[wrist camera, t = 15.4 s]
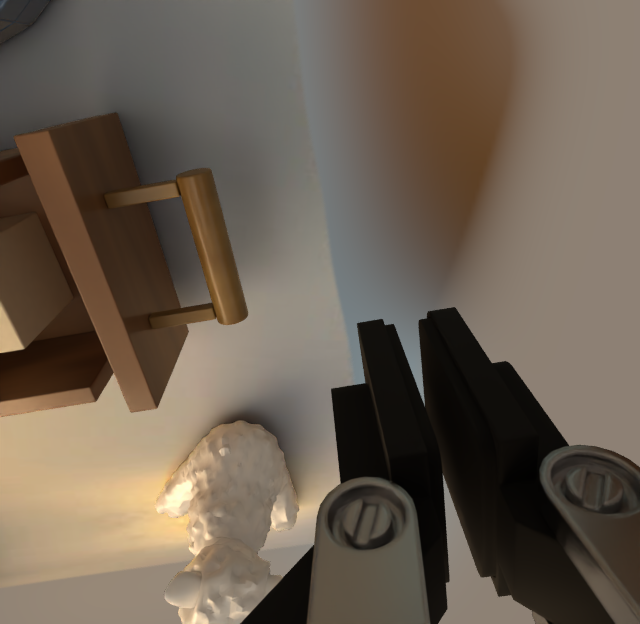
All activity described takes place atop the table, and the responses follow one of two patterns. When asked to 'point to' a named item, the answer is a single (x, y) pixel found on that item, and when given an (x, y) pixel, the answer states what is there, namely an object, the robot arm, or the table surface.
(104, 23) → the table surface
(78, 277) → the drawer
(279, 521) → the sitting furry creature
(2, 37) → the plate
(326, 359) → the table surface
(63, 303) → the block
